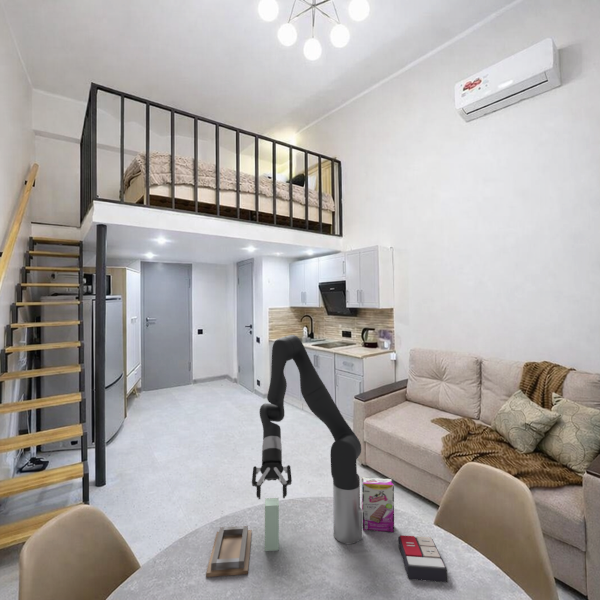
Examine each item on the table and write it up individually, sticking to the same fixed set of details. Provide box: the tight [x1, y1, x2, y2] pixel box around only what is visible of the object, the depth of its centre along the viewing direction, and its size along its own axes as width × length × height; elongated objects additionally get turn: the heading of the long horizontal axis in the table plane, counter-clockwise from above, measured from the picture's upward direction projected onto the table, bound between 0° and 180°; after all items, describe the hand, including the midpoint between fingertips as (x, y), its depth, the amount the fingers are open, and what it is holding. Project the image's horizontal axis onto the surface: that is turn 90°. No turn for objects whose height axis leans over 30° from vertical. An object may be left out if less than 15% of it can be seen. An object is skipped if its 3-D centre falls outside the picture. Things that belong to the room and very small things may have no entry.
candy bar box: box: [361, 477, 395, 533], centre depth 118 cm, size 11×5×16 cm, turn 84°
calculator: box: [397, 535, 449, 583], centre depth 101 cm, size 11×4×15 cm
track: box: [205, 525, 253, 578], centre depth 105 cm, size 12×19×3 cm, turn 5°
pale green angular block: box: [264, 497, 280, 552], centre depth 108 cm, size 4×4×14 cm
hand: (271, 498), depth 114 cm, fingers open, 8 cm apart
